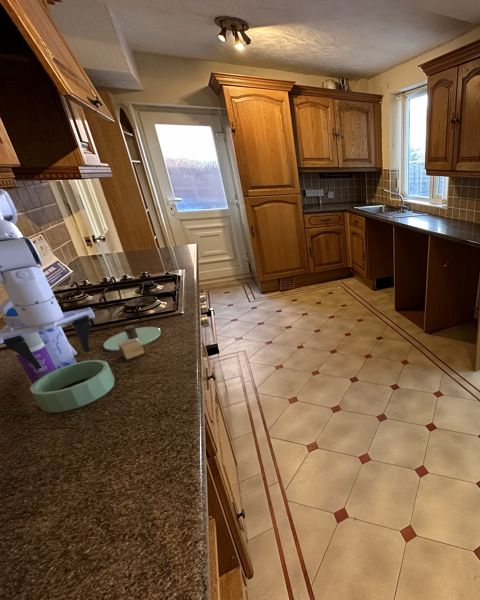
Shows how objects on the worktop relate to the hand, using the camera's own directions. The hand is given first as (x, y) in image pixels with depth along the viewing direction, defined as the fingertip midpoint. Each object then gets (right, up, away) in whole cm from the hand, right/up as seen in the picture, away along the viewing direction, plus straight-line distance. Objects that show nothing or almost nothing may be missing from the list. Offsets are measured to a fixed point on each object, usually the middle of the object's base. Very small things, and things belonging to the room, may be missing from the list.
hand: (63, 358), depth 69 cm
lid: (-7, +1, +27) cm, 28 cm away
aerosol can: (-16, -6, +14) cm, 22 cm away
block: (-1, -3, +19) cm, 20 cm away
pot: (-1, -9, +5) cm, 10 cm away
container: (-12, -8, +8) cm, 16 cm away
